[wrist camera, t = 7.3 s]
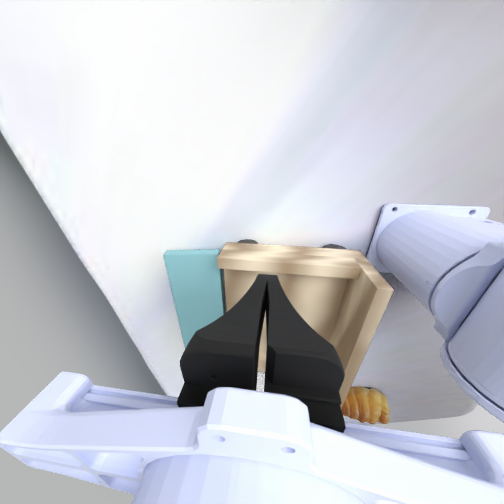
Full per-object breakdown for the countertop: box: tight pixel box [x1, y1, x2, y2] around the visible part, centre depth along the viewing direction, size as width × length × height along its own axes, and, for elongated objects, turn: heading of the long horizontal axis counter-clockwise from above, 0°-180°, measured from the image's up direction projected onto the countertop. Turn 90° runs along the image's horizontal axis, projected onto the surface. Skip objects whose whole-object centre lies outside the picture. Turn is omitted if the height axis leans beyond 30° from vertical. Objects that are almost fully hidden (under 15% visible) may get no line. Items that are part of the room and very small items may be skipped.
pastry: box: [341, 387, 389, 424], centre depth 33 cm, size 9×7×4 cm
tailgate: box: [163, 249, 224, 349], centre depth 25 cm, size 2×17×6 cm
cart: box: [217, 240, 394, 408], centre depth 23 cm, size 15×18×8 cm
